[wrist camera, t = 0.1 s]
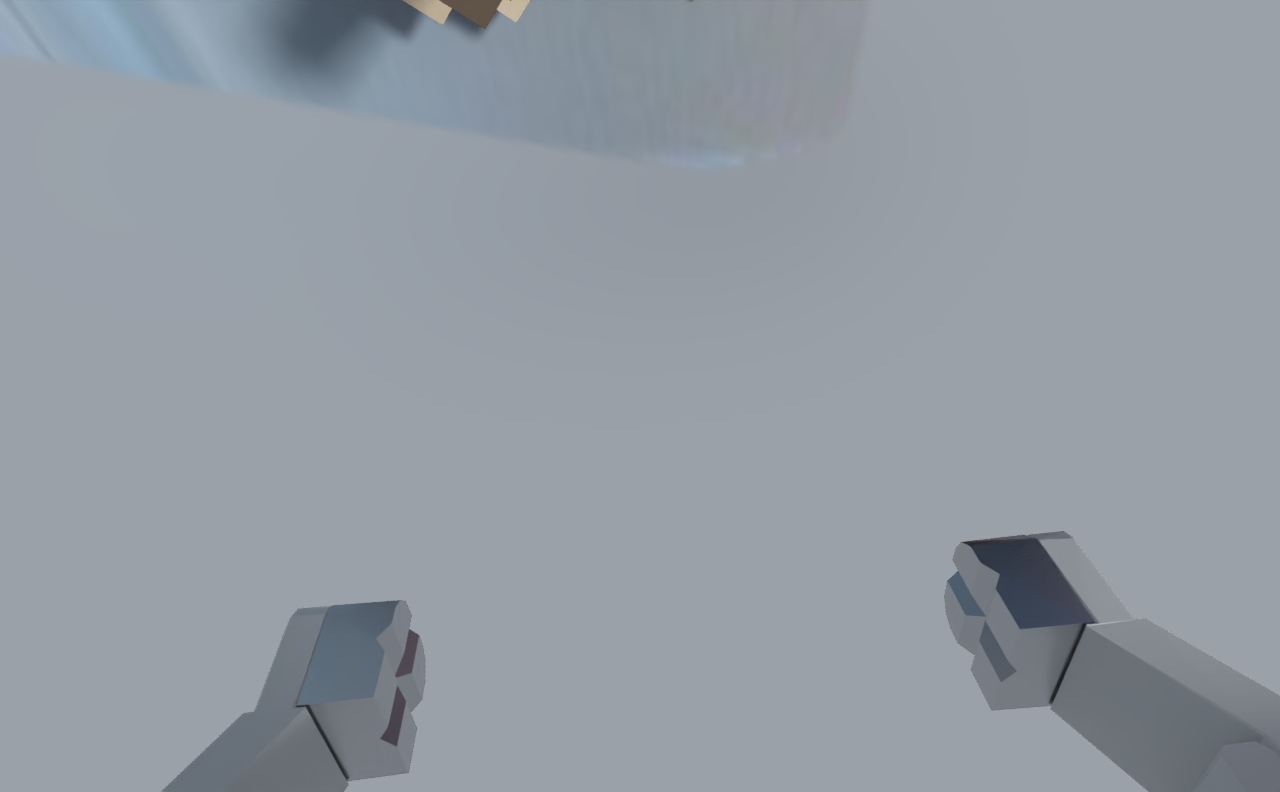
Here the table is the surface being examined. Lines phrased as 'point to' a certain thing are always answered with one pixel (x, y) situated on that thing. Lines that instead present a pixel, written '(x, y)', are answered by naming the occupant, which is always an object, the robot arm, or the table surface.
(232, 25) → the table surface
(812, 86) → the table surface
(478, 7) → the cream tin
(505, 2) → the beige square tray
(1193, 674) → the robot arm
